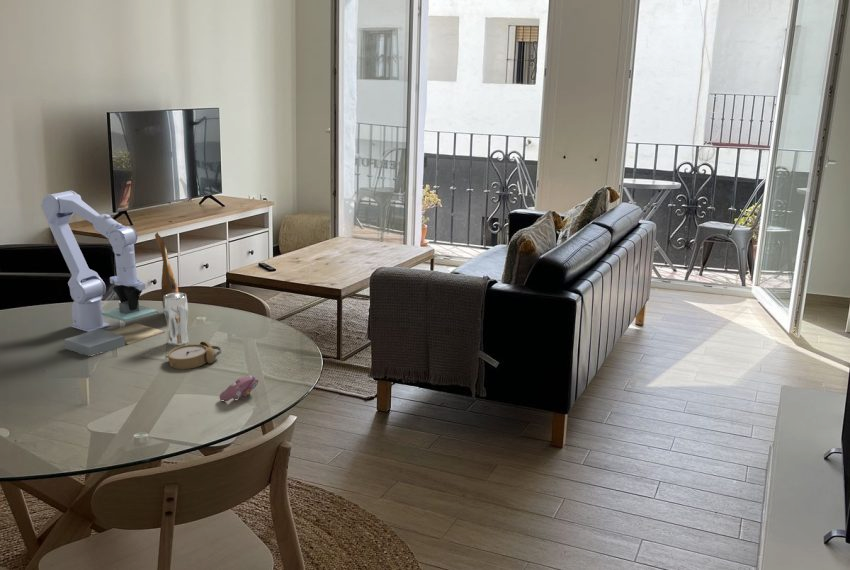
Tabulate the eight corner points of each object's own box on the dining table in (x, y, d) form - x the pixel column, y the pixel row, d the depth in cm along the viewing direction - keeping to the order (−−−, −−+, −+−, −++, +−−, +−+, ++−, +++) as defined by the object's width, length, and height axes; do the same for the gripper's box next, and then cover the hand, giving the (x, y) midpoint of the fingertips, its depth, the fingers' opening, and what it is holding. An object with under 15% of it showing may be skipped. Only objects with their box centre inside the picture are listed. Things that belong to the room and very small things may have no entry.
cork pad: (98, 335, 258) (98, 334, 258) (135, 324, 269) (135, 323, 269) (127, 344, 250) (127, 343, 250) (164, 332, 262) (164, 331, 262)
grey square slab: (65, 348, 246) (64, 339, 245) (100, 337, 256) (99, 328, 255) (90, 357, 240) (89, 347, 239) (125, 345, 250) (124, 336, 249)
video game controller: (228, 410, 209) (236, 390, 206) (216, 399, 211) (224, 379, 208) (255, 397, 217) (263, 377, 214) (243, 386, 219) (251, 367, 216)
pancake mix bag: (160, 326, 267) (153, 241, 260) (161, 309, 285) (154, 229, 277) (182, 324, 269) (176, 240, 262) (181, 307, 287) (175, 228, 279)
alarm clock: (163, 349, 239) (214, 334, 244) (167, 365, 240) (218, 349, 246) (170, 362, 229) (223, 346, 235) (175, 378, 231) (227, 361, 236)
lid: (100, 314, 256) (99, 303, 255) (133, 306, 266) (132, 294, 265) (126, 321, 250) (125, 309, 249) (158, 312, 259) (157, 301, 258)
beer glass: (193, 339, 256) (190, 292, 252) (185, 346, 249) (181, 299, 245) (172, 338, 256) (168, 291, 252) (162, 345, 250) (159, 298, 246)
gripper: (99, 265, 254) (104, 307, 258) (130, 272, 247) (134, 315, 250) (119, 261, 260) (123, 302, 264) (149, 267, 252) (153, 310, 256)
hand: (129, 308), depth 257 cm, fingers closed on lid, 3 cm apart
